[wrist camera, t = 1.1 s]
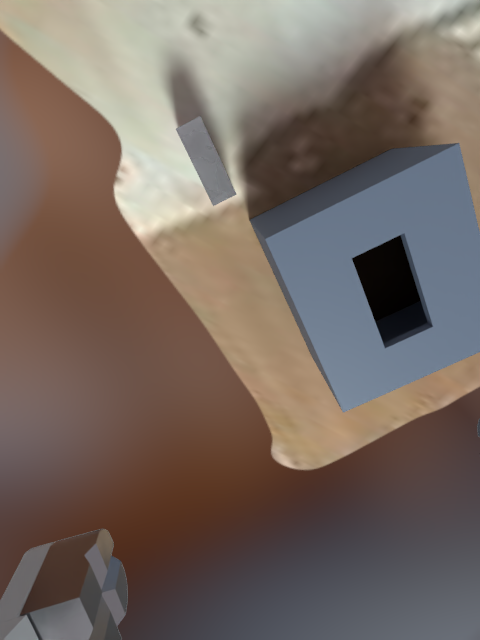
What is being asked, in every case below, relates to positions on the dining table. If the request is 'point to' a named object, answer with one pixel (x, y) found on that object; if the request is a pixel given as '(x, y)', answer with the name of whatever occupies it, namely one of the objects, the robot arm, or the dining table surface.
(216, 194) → the grey rectangular block
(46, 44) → the dining table surface
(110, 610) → the robot arm
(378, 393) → the coin box
